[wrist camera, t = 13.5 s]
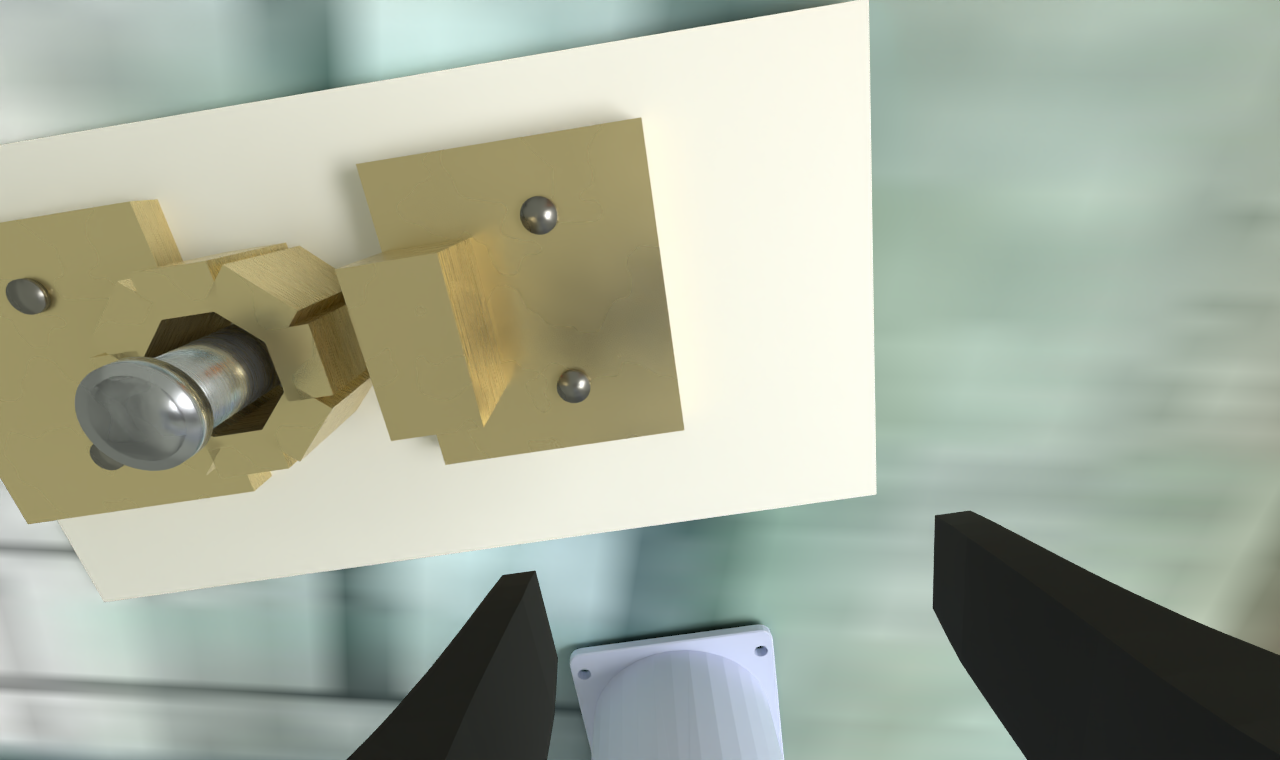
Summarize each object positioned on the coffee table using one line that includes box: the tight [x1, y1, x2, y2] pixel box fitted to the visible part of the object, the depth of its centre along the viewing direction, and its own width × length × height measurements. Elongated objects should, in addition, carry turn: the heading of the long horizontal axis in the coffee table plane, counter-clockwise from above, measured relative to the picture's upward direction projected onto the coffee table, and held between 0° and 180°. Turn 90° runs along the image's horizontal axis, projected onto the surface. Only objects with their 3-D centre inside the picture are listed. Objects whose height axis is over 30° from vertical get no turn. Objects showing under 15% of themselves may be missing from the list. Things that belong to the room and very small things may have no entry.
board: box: [0, 0, 876, 602], centre depth 19 cm, size 15×28×1 cm, turn 99°
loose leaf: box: [335, 117, 684, 465], centre depth 16 cm, size 9×8×4 cm
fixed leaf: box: [0, 199, 372, 524], centre depth 17 cm, size 9×13×4 cm
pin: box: [75, 324, 281, 471], centre depth 15 cm, size 2×2×6 cm
